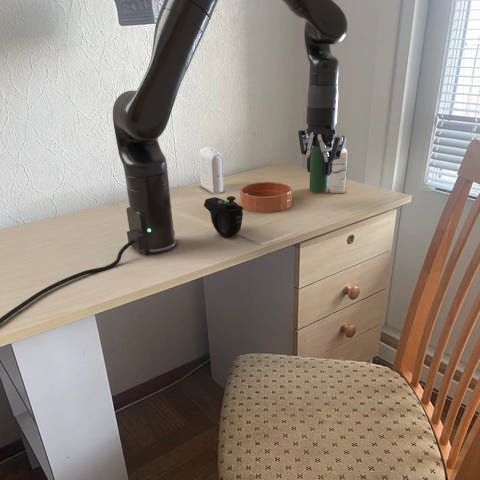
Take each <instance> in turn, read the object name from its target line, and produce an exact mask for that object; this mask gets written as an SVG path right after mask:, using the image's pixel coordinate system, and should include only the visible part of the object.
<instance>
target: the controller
mask: <svg viewBox="0 0 480 480" xmlns="http://www.w3.org/2000/svg"><path fill="white" fill-rule="evenodd" d="M236 199H237V198H236V196H234V195H233V196H232V195H231V196H227V197H226V200H225V199H222V198H219V197H217V196H213V197H210V198H209V197H208V198H206V199H204V203H203V207H204V208H205V209H206V210H207V211H208V212H209V214H210V219H211V223H212V226H213V228H214V230H215V231H216V232H217V234H219V235H220V236H221V237H224V238H230V237H233V236H235V235H237V234H238V233H239V232H240V231H241V229H242V224H243V218H244V212H243V210H244V209H243V207H242V206H240V204H238V203H237V202H235V200H236Z"/></svg>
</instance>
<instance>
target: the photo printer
mask: <svg viewBox="0 0 480 480" xmlns="http://www.w3.org/2000/svg"><path fill="white" fill-rule="evenodd" d="M198 162H199V178H200V185H201V187H202V188H203V189H205V190H207V191H209V192H210V193H212V194H217V193H218V194H219V193H222V192H224V191H225V179H224V159H223V156H222V155H221V152H219V151H218V150H217V149H216V148H214V147H211V146H204V147H202V148H200V150H199V152H198Z"/></svg>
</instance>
